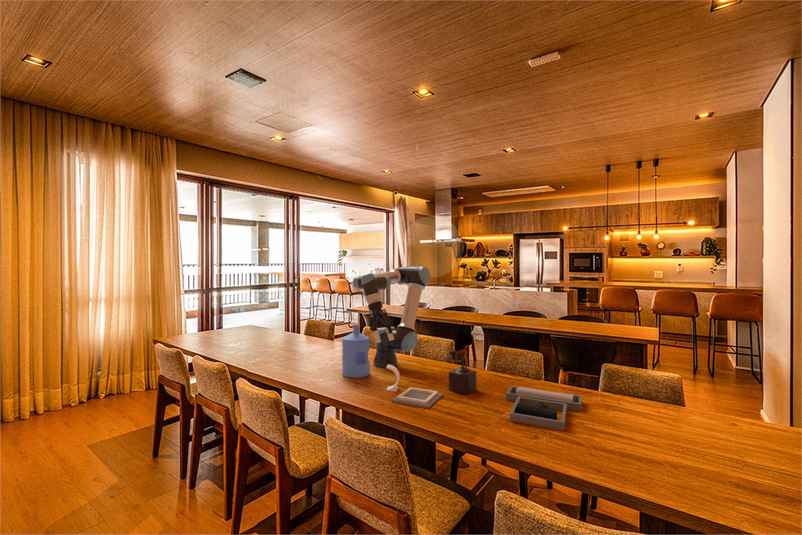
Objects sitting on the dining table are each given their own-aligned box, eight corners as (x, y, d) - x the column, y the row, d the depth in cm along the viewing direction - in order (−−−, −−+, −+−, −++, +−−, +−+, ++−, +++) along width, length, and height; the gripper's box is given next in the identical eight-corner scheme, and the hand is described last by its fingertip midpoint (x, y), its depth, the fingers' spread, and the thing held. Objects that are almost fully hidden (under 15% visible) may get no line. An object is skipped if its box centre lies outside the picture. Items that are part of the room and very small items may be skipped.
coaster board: (408, 389, 187) (408, 385, 187) (442, 395, 179) (442, 390, 179) (391, 402, 171) (391, 397, 171) (428, 408, 163) (428, 403, 163)
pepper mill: (478, 389, 188) (478, 353, 188) (466, 395, 180) (466, 357, 180) (452, 382, 199) (452, 348, 198) (439, 387, 190) (439, 352, 190)
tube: (514, 390, 176) (572, 399, 162) (516, 383, 180) (573, 392, 167) (515, 399, 177) (572, 410, 164) (517, 393, 181) (574, 402, 168)
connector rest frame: (518, 402, 170) (518, 396, 169) (566, 410, 161) (566, 403, 161) (509, 420, 150) (509, 413, 150) (564, 430, 141) (564, 422, 141)
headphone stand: (388, 388, 190) (388, 364, 190) (399, 388, 189) (399, 364, 189) (386, 391, 186) (386, 366, 186) (398, 391, 185) (398, 367, 185)
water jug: (337, 377, 209) (337, 327, 208) (349, 369, 224) (349, 322, 223) (363, 379, 204) (363, 328, 204) (373, 371, 219) (373, 323, 219)
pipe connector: (525, 396, 164) (561, 403, 155) (525, 408, 164) (561, 416, 155) (515, 404, 155) (553, 413, 146) (515, 417, 155) (553, 426, 146)
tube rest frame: (510, 392, 184) (510, 386, 184) (581, 402, 170) (581, 395, 170) (506, 399, 173) (506, 393, 173) (581, 411, 160) (581, 404, 160)
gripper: (357, 307, 207) (367, 345, 204) (379, 299, 187) (391, 341, 184) (369, 305, 211) (379, 341, 209) (392, 296, 191) (403, 337, 189)
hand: (385, 341), depth 197 cm, fingers open, 13 cm apart
